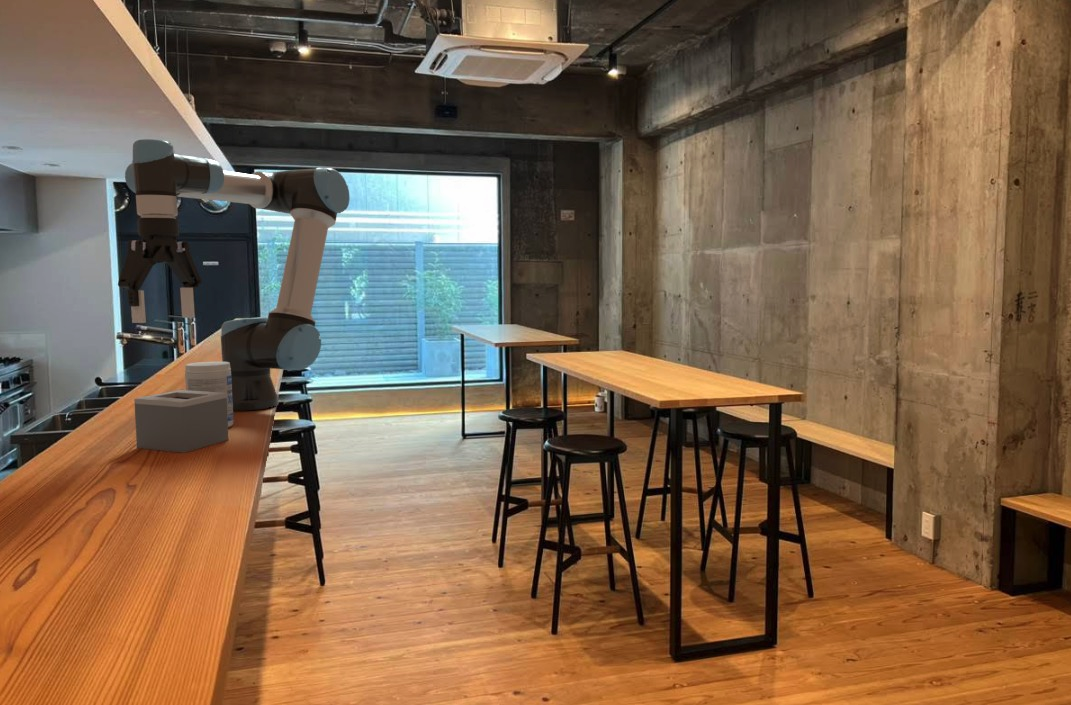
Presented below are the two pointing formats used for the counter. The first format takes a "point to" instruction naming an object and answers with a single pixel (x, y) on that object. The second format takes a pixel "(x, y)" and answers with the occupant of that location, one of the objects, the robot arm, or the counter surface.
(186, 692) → the counter surface
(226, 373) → the supplement tub
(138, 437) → the box
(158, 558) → the counter surface
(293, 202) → the robot arm
